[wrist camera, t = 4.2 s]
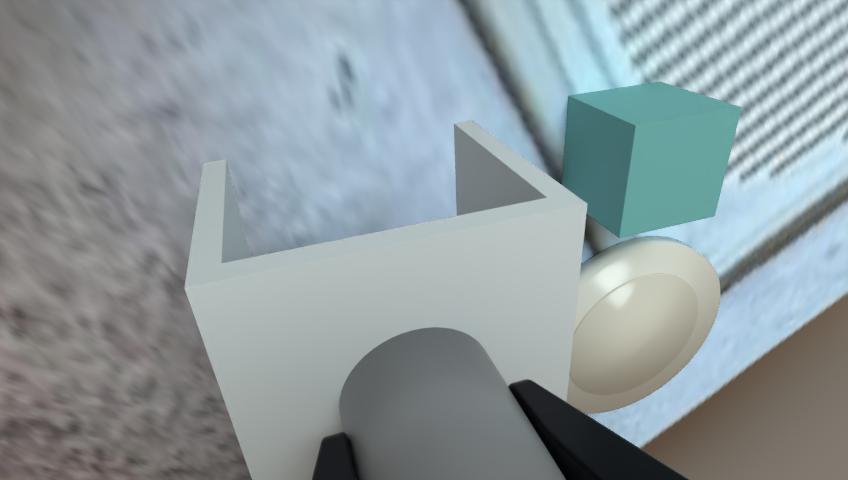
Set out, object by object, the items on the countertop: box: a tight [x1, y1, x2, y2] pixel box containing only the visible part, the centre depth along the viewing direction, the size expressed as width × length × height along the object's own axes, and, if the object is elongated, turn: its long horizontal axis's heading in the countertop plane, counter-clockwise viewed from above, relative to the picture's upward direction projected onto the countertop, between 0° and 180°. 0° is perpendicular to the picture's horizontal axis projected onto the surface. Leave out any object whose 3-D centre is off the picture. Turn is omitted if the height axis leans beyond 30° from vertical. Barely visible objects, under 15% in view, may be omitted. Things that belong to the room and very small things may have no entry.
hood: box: [185, 121, 587, 480], centre depth 10 cm, size 7×7×10 cm
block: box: [561, 82, 742, 238], centre depth 19 cm, size 4×4×4 cm
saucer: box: [566, 236, 720, 413], centre depth 26 cm, size 10×10×1 cm
